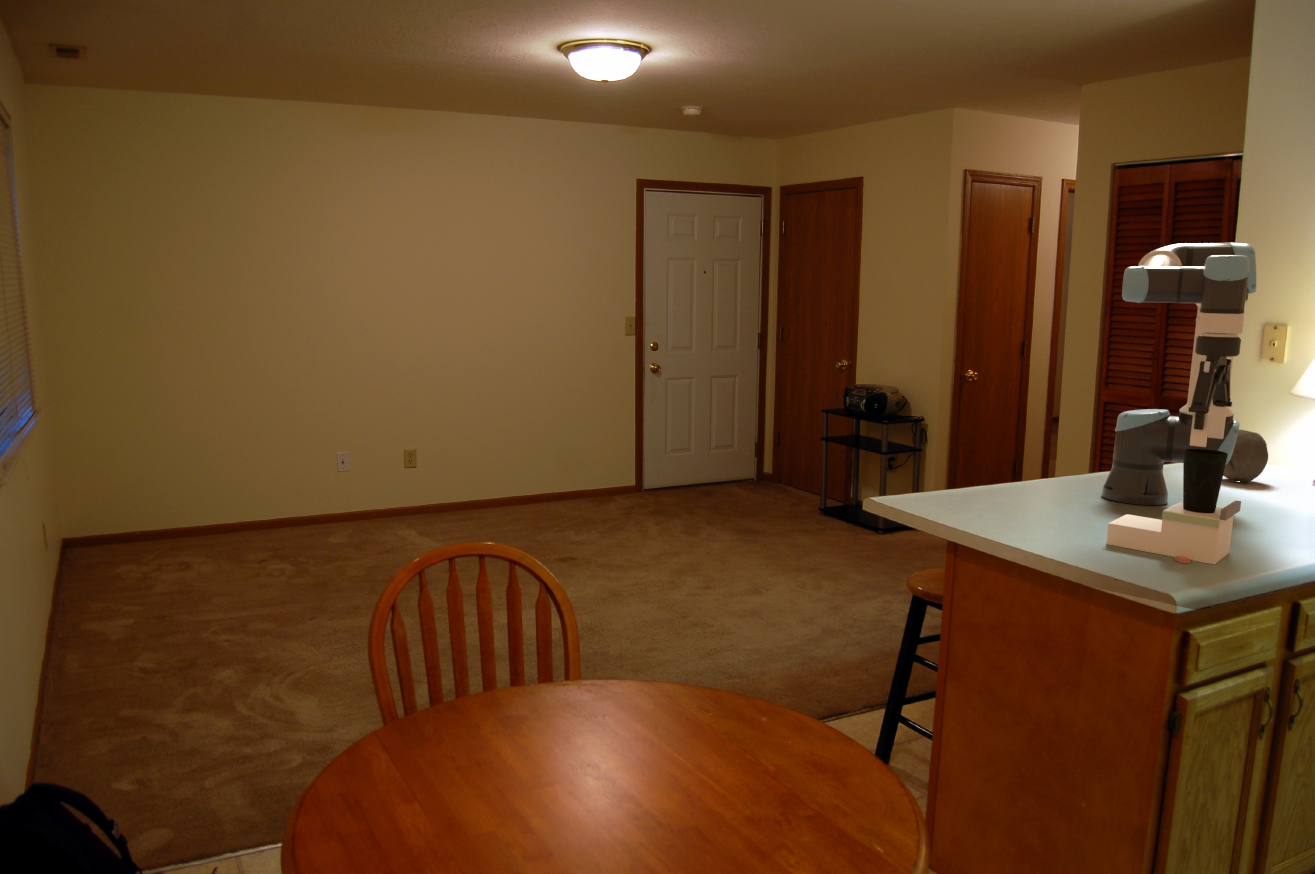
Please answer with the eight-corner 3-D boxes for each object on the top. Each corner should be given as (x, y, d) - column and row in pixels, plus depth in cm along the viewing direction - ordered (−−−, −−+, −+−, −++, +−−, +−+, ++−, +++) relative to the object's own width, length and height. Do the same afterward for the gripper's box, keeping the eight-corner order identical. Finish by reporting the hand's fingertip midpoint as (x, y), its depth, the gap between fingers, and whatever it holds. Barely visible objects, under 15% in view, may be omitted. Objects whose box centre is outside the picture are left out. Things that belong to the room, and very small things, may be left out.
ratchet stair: (1125, 533, 203) (1130, 484, 201) (1235, 553, 189) (1241, 500, 187) (1100, 547, 191) (1105, 495, 190) (1215, 569, 177) (1222, 513, 175)
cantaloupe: (1277, 486, 259) (1284, 434, 257) (1226, 485, 260) (1233, 432, 257) (1246, 477, 273) (1252, 426, 271) (1198, 475, 273) (1204, 425, 271)
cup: (1227, 515, 183) (1234, 455, 181) (1184, 513, 184) (1191, 453, 182) (1212, 507, 190) (1218, 449, 188) (1171, 504, 191) (1178, 447, 190)
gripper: (1213, 332, 193) (1201, 432, 197) (1180, 336, 175) (1168, 446, 179) (1255, 334, 188) (1242, 437, 191) (1225, 338, 170) (1212, 452, 174)
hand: (1206, 442), depth 185 cm, fingers open, 13 cm apart
